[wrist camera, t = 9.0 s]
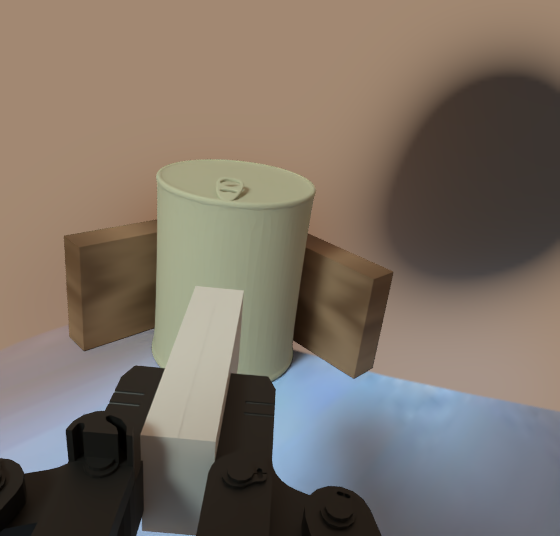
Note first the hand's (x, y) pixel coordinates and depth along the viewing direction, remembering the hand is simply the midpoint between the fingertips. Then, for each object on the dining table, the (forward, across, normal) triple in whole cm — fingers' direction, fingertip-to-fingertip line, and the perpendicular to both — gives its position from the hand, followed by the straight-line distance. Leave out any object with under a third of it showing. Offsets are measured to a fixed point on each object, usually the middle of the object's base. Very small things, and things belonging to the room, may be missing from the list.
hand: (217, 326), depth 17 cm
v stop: (+19, -1, -11) cm, 22 cm away
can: (+15, -1, -11) cm, 19 cm away
